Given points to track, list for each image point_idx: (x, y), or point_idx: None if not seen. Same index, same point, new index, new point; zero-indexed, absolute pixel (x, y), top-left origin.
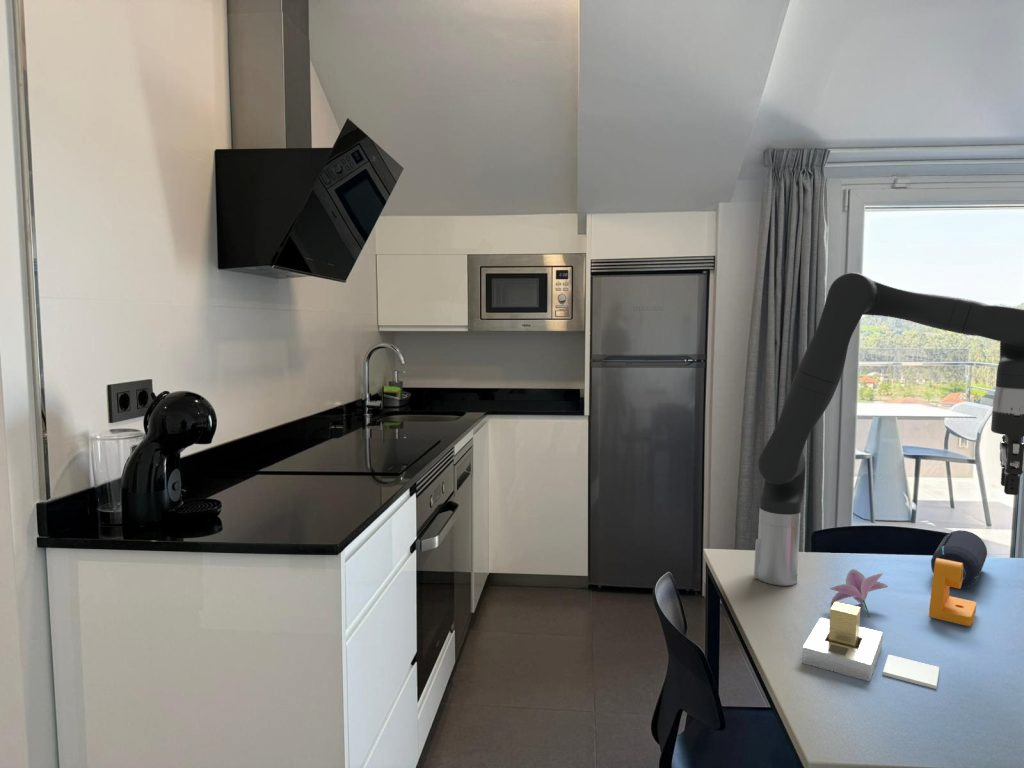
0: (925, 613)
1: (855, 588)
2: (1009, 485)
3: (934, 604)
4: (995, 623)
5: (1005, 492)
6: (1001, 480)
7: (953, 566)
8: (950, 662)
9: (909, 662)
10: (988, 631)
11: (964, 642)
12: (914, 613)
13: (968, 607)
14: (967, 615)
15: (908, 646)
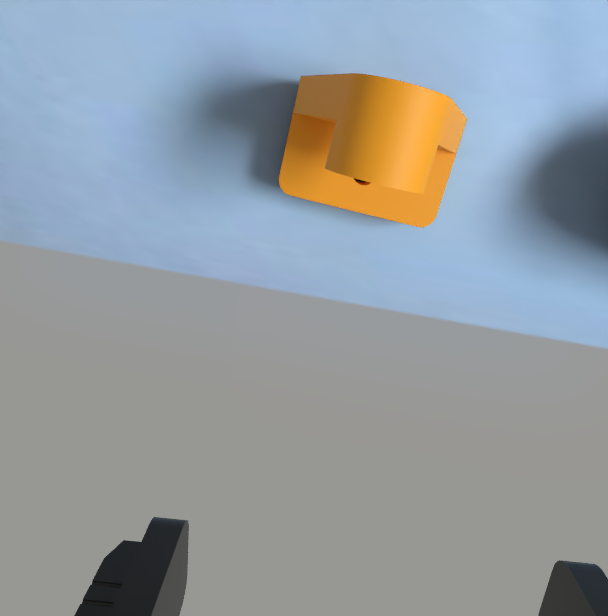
0: None
1: None
2: (85, 604)
3: (301, 90)
4: (368, 261)
5: (153, 524)
6: (583, 596)
7: (351, 148)
8: (13, 108)
9: None
10: (294, 234)
11: (175, 161)
12: (340, 40)
13: (366, 198)
14: (290, 185)
15: (51, 2)
